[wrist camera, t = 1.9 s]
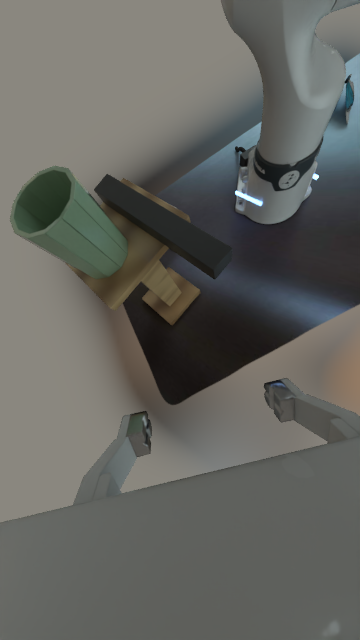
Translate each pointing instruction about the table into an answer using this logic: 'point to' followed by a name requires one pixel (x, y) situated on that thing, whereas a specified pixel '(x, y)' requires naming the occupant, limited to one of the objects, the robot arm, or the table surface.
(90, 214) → the green cup
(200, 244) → the black bar
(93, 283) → the birch stand
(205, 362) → the table surface
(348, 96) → the decorative butterfly
